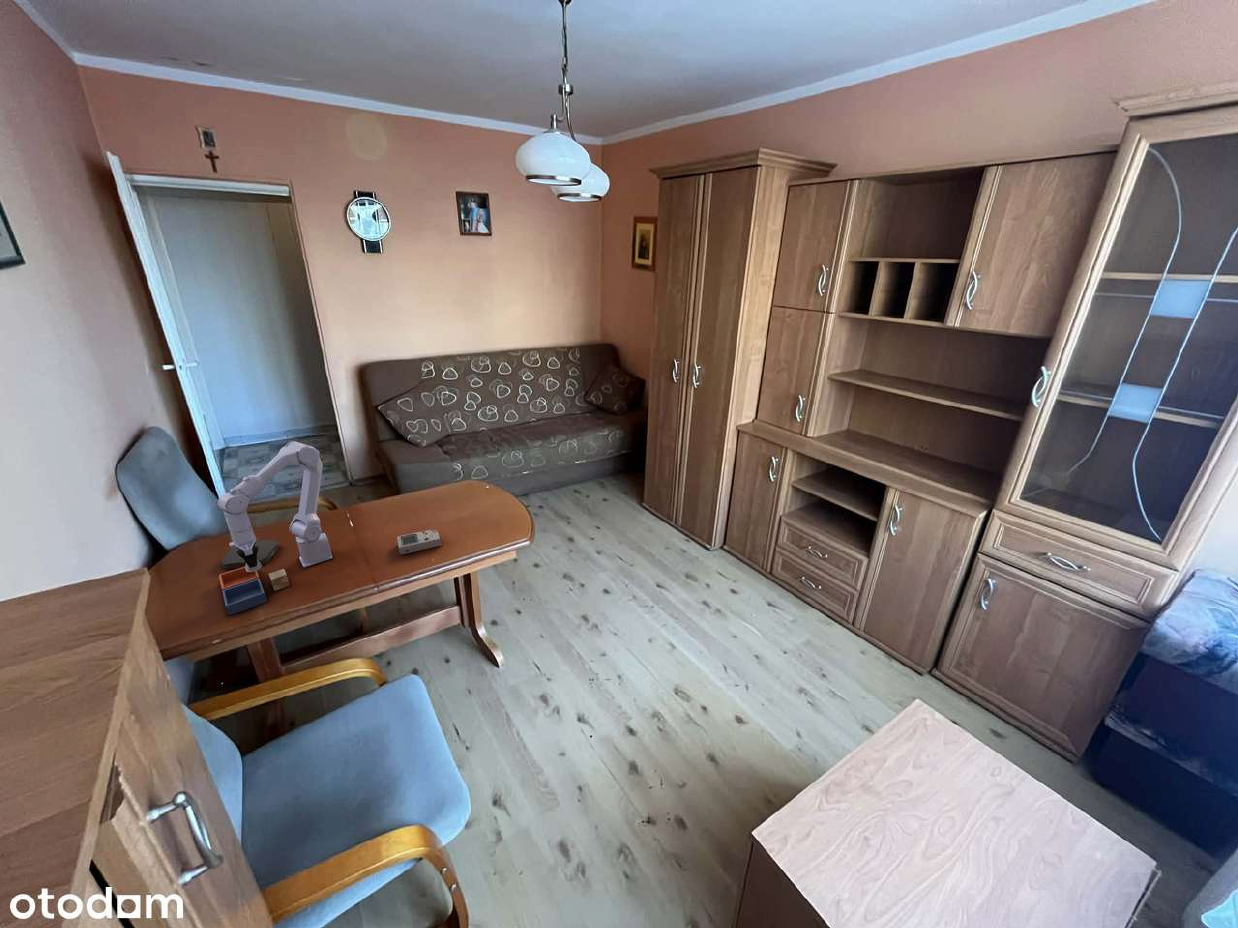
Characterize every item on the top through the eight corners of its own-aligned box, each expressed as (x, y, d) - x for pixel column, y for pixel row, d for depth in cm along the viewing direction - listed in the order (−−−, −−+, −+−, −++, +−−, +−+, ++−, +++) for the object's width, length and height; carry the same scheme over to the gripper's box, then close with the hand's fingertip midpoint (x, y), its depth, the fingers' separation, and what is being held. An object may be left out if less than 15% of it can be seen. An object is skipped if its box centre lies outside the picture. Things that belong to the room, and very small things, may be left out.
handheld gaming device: (441, 546, 193) (440, 538, 191) (400, 556, 187) (398, 547, 185) (438, 536, 200) (436, 527, 199) (398, 544, 194) (396, 536, 192)
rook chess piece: (251, 565, 169) (244, 544, 166) (265, 564, 169) (258, 544, 166) (242, 573, 165) (235, 552, 161) (257, 572, 165) (250, 551, 162)
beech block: (287, 579, 173) (284, 568, 171) (290, 585, 170) (286, 574, 168) (272, 584, 171) (268, 573, 169) (274, 591, 167) (270, 579, 166)
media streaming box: (218, 570, 178) (216, 563, 176) (240, 548, 191) (238, 541, 190) (264, 567, 180) (261, 559, 179) (282, 545, 193) (280, 538, 192)
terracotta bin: (257, 571, 177) (254, 563, 176) (262, 585, 170) (259, 576, 169) (221, 583, 171) (218, 574, 170) (225, 598, 164) (221, 589, 163)
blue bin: (262, 586, 170) (259, 578, 168) (267, 601, 162) (264, 592, 161) (225, 599, 163) (222, 590, 162) (229, 615, 156) (225, 606, 155)
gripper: (222, 523, 163) (235, 558, 169) (227, 541, 153) (240, 578, 159) (249, 516, 168) (260, 551, 173) (255, 534, 157) (266, 570, 163)
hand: (252, 563), depth 166 cm, fingers closed on rook chess piece, 3 cm apart
